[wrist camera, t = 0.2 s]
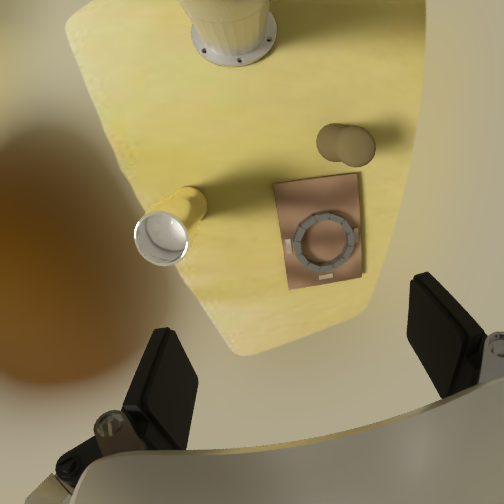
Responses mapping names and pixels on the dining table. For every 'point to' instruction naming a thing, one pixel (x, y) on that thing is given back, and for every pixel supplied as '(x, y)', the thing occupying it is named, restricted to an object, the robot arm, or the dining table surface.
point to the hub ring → (338, 259)
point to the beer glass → (171, 227)
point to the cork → (346, 144)
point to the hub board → (319, 226)
